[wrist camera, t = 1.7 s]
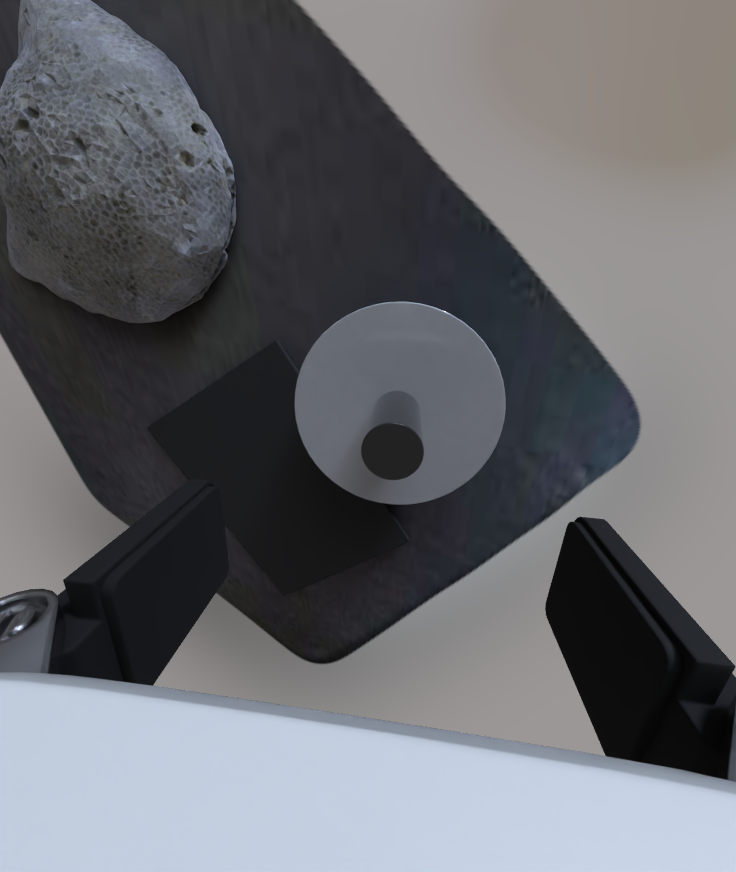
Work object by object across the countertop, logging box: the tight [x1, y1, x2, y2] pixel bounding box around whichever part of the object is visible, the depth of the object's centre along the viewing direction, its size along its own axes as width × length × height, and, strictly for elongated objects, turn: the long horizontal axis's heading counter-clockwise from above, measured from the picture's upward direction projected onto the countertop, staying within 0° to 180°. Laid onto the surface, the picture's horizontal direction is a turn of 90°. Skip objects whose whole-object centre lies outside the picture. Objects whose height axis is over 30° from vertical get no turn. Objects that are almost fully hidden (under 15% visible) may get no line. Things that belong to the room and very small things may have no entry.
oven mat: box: [147, 340, 409, 595], centre depth 31 cm, size 20×14×1 cm
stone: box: [0, 0, 236, 323], centre depth 23 cm, size 18×8×15 cm
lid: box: [294, 302, 506, 505], centre depth 18 cm, size 12×12×7 cm
